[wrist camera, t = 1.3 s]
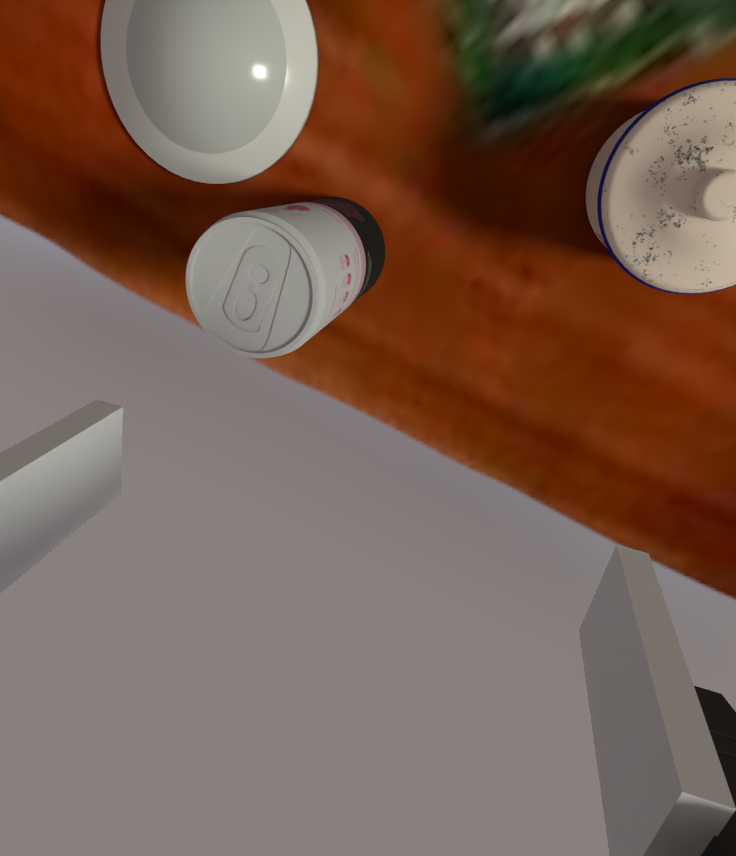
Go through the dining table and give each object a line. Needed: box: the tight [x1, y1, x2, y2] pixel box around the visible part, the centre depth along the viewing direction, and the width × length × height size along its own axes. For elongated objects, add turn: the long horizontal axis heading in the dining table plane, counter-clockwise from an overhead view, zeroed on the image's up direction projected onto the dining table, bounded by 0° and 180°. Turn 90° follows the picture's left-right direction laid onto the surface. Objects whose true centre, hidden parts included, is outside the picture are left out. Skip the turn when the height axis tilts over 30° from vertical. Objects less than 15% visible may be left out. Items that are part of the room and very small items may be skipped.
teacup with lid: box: [586, 78, 736, 294], centre depth 30 cm, size 12×9×12 cm
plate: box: [101, 0, 319, 184], centre depth 38 cm, size 14×14×1 cm
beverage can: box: [186, 198, 385, 358], centre depth 34 cm, size 7×7×15 cm
